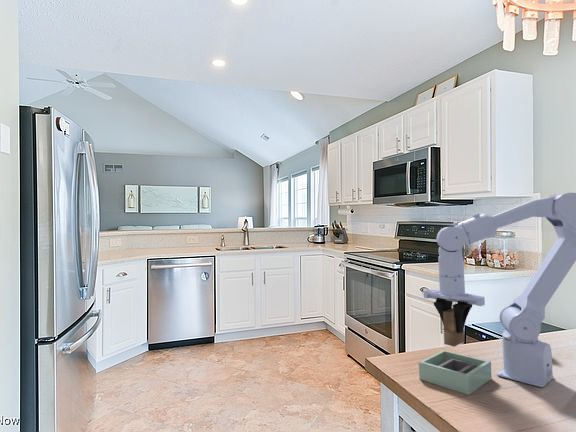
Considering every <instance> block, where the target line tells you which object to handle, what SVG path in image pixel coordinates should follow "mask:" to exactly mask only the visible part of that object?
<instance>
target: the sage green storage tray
mask: <svg viewBox="0 0 576 432" xmlns="http://www.w3.org/2000/svg"><path fill="white" fill-rule="evenodd" d="M418 372H419V373H418V374H419V375H418V376H419V380H421V381H424V382H428V383H431V384H434V385H437V386H439V387H442V388H446V389H449V390H452V391H455V392H459V393H462V394H465V395H468V396H470V395H471V394H472V393H474V392H475V391H477V390H478V389H479V388H481V387H482V386H484V385H485V384H486V383H488V382H489V381H491V380H492V377H493V376H492V360H491V361H490V360H486V359H482V358H478V357H474V356H469V355H465V354H462V353H457V352H453V351H449V350H446V349H442V350H439V351H438V352H436V353H433V354H432V355H430V356H428V357H425V358H424V359H422V360H420V361H418Z"/></svg>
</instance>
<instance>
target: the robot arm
mask: <svg viewBox="0 0 576 432" xmlns="http://www.w3.org/2000/svg"><path fill="white" fill-rule="evenodd" d="M533 217H534V218H545V219H546V220H547V221H549V223H550V224H551V225H552V226H553V229H554V231H555V233H556V235H557V239H556V241H555V243H554V244H553V246H552V247H551V249H550V250H549V252H547V254H546V256H545V258H544V259H543V261H542V263H541V264H540V266H539V267H538V269H537V270H536V272H535V273H534V274H533V276H532V278H531V279H530V281H529V283H528V284H527V285H526V287H525V289H524V290H523V291H522V293H521V294H520V295H518V296H517V297H515V298H514V299H513V300H512V302H511V303H510V304H509V305H506V306H505V307H504V308H503V309H501V310H500V313H499V321H500V324H501V325H502V326H503V327H504V329H503V332H502V333H501V336H502V337H501V339H502V361H503V369H501V370H499V372H497V373H496V376H498V377H502V378H506V379H509V380H513V381H515V382H516V381H518V382H520V383H524V384H528V385H532V386H535V387H539V388H544V387H545V386H546V385H547V384H549V383H550V381H552V379H554V378H555V375H553V374H554V373H553V356H552V354H553V352H552V347H551V345H550V344H549V343H547V342H545V341H542V340H539V336H540V334H541V330H542V328H541V327H542V323H543V322H544V320H545V318H546V307H547V305H548V303H549V302H550V300H551V299H552V297H553V295H554V294H555V292H556V291H557V290H558V288H559V287H560V285H561V284H562V282H563V281H564V279H565V278H566V277H567V274H569V272H570V270H571V269H572V267H573V266H574V264H575V263H576V192H567V193H566V192H565V193H562V194H551V195H548V196H547V197H541V198H536V199H532V200H529V201H528V200H527V202H524V203H521V204H519V205H517V206H514V207H512V208H509V209H507V210H504V211H502V212H500V213H497V214H494V215H492V216H491V215H489V214H486V213H481V214H480V213H477V212H476V213H473V214H472V217H470V218H468V219H466V220H463V221H460V222H459V221H454V222H453V223H452V225H453V226H446V227H443V228H441V229H440V230H439V231H438V233H437V234H436V238H435V241H436V243H437V246H439V247H438V255H439V256H437V257H438V258H437V260H438V277H439V278H438V280H439V283H438V285H439V290H435V289H424V290H423V298H424V299H433V300H435V301H434V302H433V306H434V308H435V309H436V310H437V313H438V315H439V317H440V319H441V321H442V325H443V327H444V324H443V311H446V310H448V309H451V308H453V309H454V313H455V318H456V331H457V333H462V332H463V331H464V332H465V326H466V325H465V324H466V321H467V318H468V315H469V313H470V311H471V309H472V308H473V305H474V306H478V307H483V306H485V303H486V302H485V296H483V295H482V296H481V295H477V294H471V293H467V292H466V288H465V287H466V286H465V285H466V284H465V263H464V256H463V255H464V254H463V247H464V246H465V245H467V246H469V245H472V244H474V243H477V242H480V241H482V240H486V239H487V238H491V237H493V236H495V235H496V232H497V230H498V229H499V228H503V227H505V226H509V225H512V224H516V223H518V222H521V221H524V220H527V219H530V218H533ZM453 302H454V303H453Z"/></svg>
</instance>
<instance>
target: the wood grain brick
mask: <svg viewBox="0 0 576 432" xmlns="http://www.w3.org/2000/svg"><path fill="white" fill-rule="evenodd" d="M443 324H444V326H443V341H444V345H445V346H451V347H456V346H458V345H461V344H463V343H465V330H464V331H463V332H462V333H457V331H456V318H455V313H454V309H453V307H452V308H451V309H448V310H446V311H443V322H442V325H443Z"/></svg>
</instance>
